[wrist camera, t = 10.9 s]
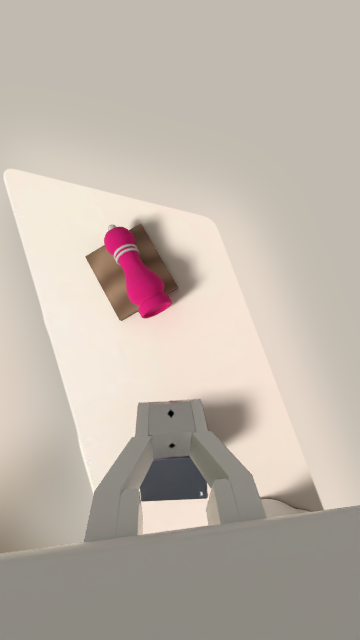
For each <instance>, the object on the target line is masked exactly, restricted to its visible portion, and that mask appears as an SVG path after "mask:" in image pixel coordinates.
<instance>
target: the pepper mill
mask: <svg viewBox="0 0 360 640" xmlns="http://www.w3.org/2000/svg"><path fill="white" fill-rule="evenodd" d="M108 230H109V231H108V232H107V233H106V235H105V238H104V244H105V247H106V249H107V251H108V252H109V253H110V254H111V255H113V256H114V259H115V260H116V263H117V264H119V265H121V267H122V268H123V271H124V273H125V278H126V290H127V295H128V297H129V299H130V301H131V302H132V303H133V304H135V305H138V306H140V307H139V309H138V311H139V313H140V315H141V317H142V318H150V317H152V316H155V315H157V314H159V313H161V312H162V311H164V310H165V309H167V308H168V307H169V306H170V305H171V300H170V299H169V297H168V295H167V294H163V292H164V283H163V281H162V280H161V278H160V277H159V276H158V275H157V274H156V273H154V272H153V271H151V270H150V269H149V268H147V267H146V266H145V265H144V264H143V262H142V261H141V259H140V257H139V253H140V252H139V250H138V249H137V246H136V245H135V238H134V236H133V234H132V233H131V232H130V231H129V230H128V229H126V228H124V227H116V226H115V225H110V226H109V227H108Z"/></svg>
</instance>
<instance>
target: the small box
mask: <svg viewBox="0 0 360 640" xmlns="http://www.w3.org/2000/svg"><path fill="white" fill-rule="evenodd" d="M140 493H141V501H161V500H183V499H206V498H207V497H208V494H207V482H206V480H205V479H204V477H203V476H202V474H201V473H200V471H199V470H198V468H197V467H196V465H195V464H194V462H193V461H192V459H191V458H190V456H175V457H165V458H157V459H153V462H152V464H151V466H150V468H149V470H148V472H147V474H146V476H145V478H144V480H143V482H142V484H141V486H140Z"/></svg>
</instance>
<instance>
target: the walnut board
mask: <svg viewBox="0 0 360 640" xmlns="http://www.w3.org/2000/svg"><path fill="white" fill-rule="evenodd" d="M129 231H130V232H131V233H132V234H133V236H134V238H135V245H136V246H137V249H138V250H139V252H140V253H139V257H140V259H141V261H142V262H143V264H144V265H145V266H146V267H147V268H149V269H150V270H151V271H153V272H154V273H156V274H157V275H158V276H159V277H160V278H161V280H162V281H163V283H164V292H163V294H169V293H171V292H172V291H174V290H176V289H177V288H178V286H177V285H176V283H175V281H174V280H173V278H172V276H171V274H170V273H169V271H168V269H167V268H166V266H165V264H164V262H163V261H162V259H161V257H160V256H159V254H158V252H157V250H156V249H155V247H154V245H153V244H152V242H151V240H150V238H149V237H148V235H147V233H146V232H145V230H144V228H143V226H142V225H141V224H139V225H137V226H136V227H134V228H132V229H131V230H129ZM85 257H86V259H87V261H88V263H89V264H90V266H91V268H92V270H93V272H94V274H95V275H96V277H97V279H98V281H99V283H100V285H101V287H102V288H103V290H104V292H105V294H106V296H107V298H108V300H109V301H110V303H111V305H112V307H113V309H114V311H115V312H116V314H117V316H118V318H119V320H121V321H123V320H124V319H126V318H128V317H129V316H131V315H133V314H135V313H136V312H138V309H139V307H140V306H138V305H135V304H133V303H132V302H131V301H130V299H129V297H128V295H127V290H126V278H125V273H124V271H123V268H122V267H121V265H119V264H117V263H116V260H115V259H114V256H113V255H111V254H110V253H109V252H108V251H107V249H106V247H105V245H104V246H102V247H101V248H99V249H97V250H96V251H94V252H92V253H90V254H89V255H87V256H85Z"/></svg>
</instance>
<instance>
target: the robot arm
mask: <svg viewBox="0 0 360 640" xmlns="http://www.w3.org/2000/svg"><path fill="white" fill-rule="evenodd" d="M175 456H190V458H191V459H192V461H193V462H194V464H195V465H196V467H197V468H198V470H199V471H200V473H201V474H202V476H203V477H204V479H205V480H206V482H207V483H208V485H209V486H210V488H211V489H212V490H211V493H210V497H209V501H208V505H207V508H206V512H207V518H208V524H209V526H203V527H196V528H188V529H181V530H173V531H166V532H158V533H151V534H143V535H142V532H143V515H142V507H141V500H140V492H139V491H138V490H139V488H140V486H141V484H142V482H143V480H144V478H145V476H146V474H147V472H148V470H149V468H150V466H151V464H152V462H153V459H157V458H165V457H175ZM0 640H360V506H352V507H345V508H337V509H331V510H322V511H315V512H310V511H307V510H301V509H295V508H292V507H290V506H289V505H287V504H285V503H283V502H280V501H277V500H273V499H260V496H259V493H258V491H257V488H256V485H255V482H254V479H253V476H252V474H251V473H250V472H249V471H248V470H247V469H246V468H245V467H244V466H243V465H242V464H241V462H240V461H239V460H238V459H237V458H236V457H235V456H234V455H233V454H232V453H231V452H230V451H229V450H228V448H227V447H226V446H225V445H224V444H223V443H222V442H221V441H220V440H219V439H218V438H217V437H216V435H215V434H214V433H213V432H212V431H208V428H207V424H206V419H205V415H204V411H203V407H202V402H201V400H200V399H193V400H189V399H188V400H176V401H168V402H144V403H138V409H137V421H136V434H135V437H132V438H131V440H130V441H129V442H128V444H127V445H126V447H125V448H124V450H123V451H122V453H121V454H120V455H119V457H118V458H117V460H116V461H115V463H114V464H113V466H112V467H111V468H110V470H109V471H108V473H107V474H106V476H105V477H104V478H103V480H102V481H101V483H100V484H99V486H98V487H97V489H96V490H95V492H94V496H93V501H92V506H91V511H90V516H89V520H88V525H87V530H86V535H85V539H84V542H83V543H77V544H69V545H61V546H54V547H46V548H39V549H31V550H24V551H16V552H9V553H2V554H0Z"/></svg>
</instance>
